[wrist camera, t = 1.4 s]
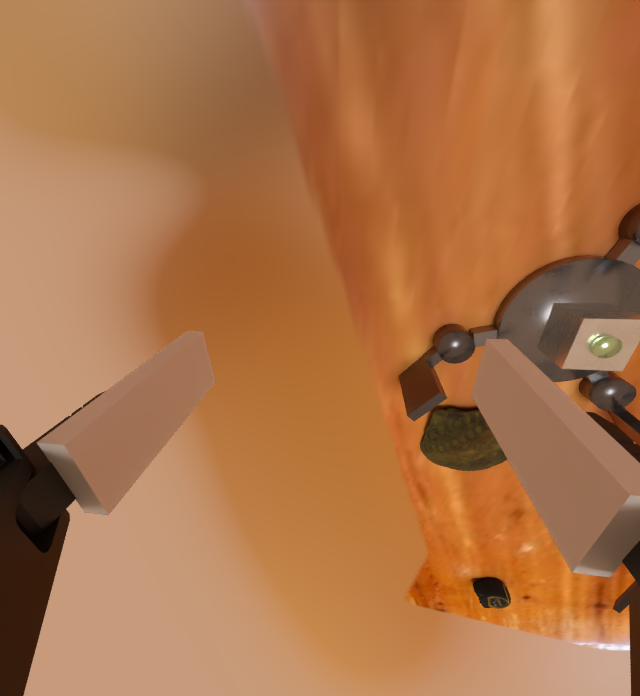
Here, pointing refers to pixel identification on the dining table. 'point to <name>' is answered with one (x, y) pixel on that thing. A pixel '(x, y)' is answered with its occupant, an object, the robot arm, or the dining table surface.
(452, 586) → the dining table surface
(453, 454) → the pottery fragment
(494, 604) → the tape measure
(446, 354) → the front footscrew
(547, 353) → the tribrach
